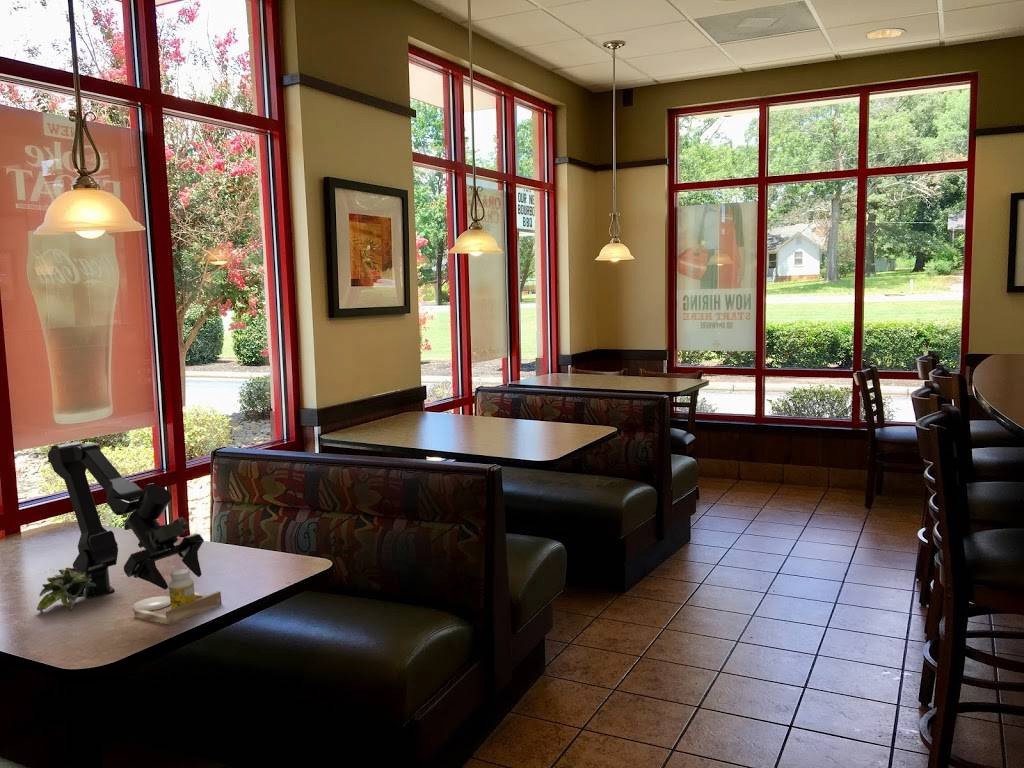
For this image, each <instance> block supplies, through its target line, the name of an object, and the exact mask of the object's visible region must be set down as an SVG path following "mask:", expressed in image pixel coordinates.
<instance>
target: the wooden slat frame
mask: <svg viewBox="0 0 1024 768" xmlns="http://www.w3.org/2000/svg"><path fill="white" fill-rule="evenodd" d="M194 593H195V600H194V601H191V602H189V603H186V604H184V605H181V606H179V607H176V608H174V609H171V608H170V610H166V611H165V614H161V613H158V612H155V611H146V610H141V609H137V610H133V612H134V614H133V615H134V617H135V618H137V617H138V619H141V618H142V619H141V620H145V619H147V620H146V621H150V620H152V621H151V622H154V621H156V622H155V623H158V622H160V623H159V624H162V623H165V624H164V625H166V624H169V625H168V626H172V625H174V624H177V623H179V622H181V621H184V620H186V619H188V617H189V618H191V617H193V616H196V615H198V614H200V612H201V613H203V612H205V611H208V610H210V609H213V608H214V607H217V606H220V605H221V604H222V593H221V591H219V590H216V591H214V592H212V593H209V594H206V593H200V592H196V591H194ZM219 604H220V605H219ZM195 614H196V615H195ZM190 616H191V617H190ZM185 618H186V619H185ZM183 619H184V620H183ZM180 620H181V621H180ZM178 621H179V622H178ZM176 622H177V623H176ZM173 623H174V624H173ZM171 624H172V625H171Z"/></svg>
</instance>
